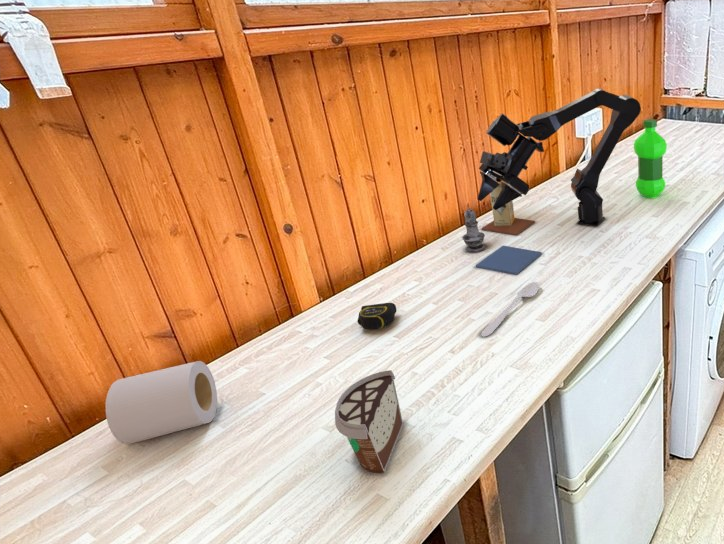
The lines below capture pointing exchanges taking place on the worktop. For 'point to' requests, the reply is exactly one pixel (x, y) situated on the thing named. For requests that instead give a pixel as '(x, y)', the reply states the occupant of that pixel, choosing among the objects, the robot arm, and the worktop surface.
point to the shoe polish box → (502, 209)
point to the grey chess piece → (472, 233)
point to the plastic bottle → (650, 160)
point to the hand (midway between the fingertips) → (486, 204)
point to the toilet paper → (161, 402)
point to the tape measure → (377, 316)
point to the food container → (371, 419)
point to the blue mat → (509, 259)
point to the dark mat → (510, 227)
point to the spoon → (524, 292)
